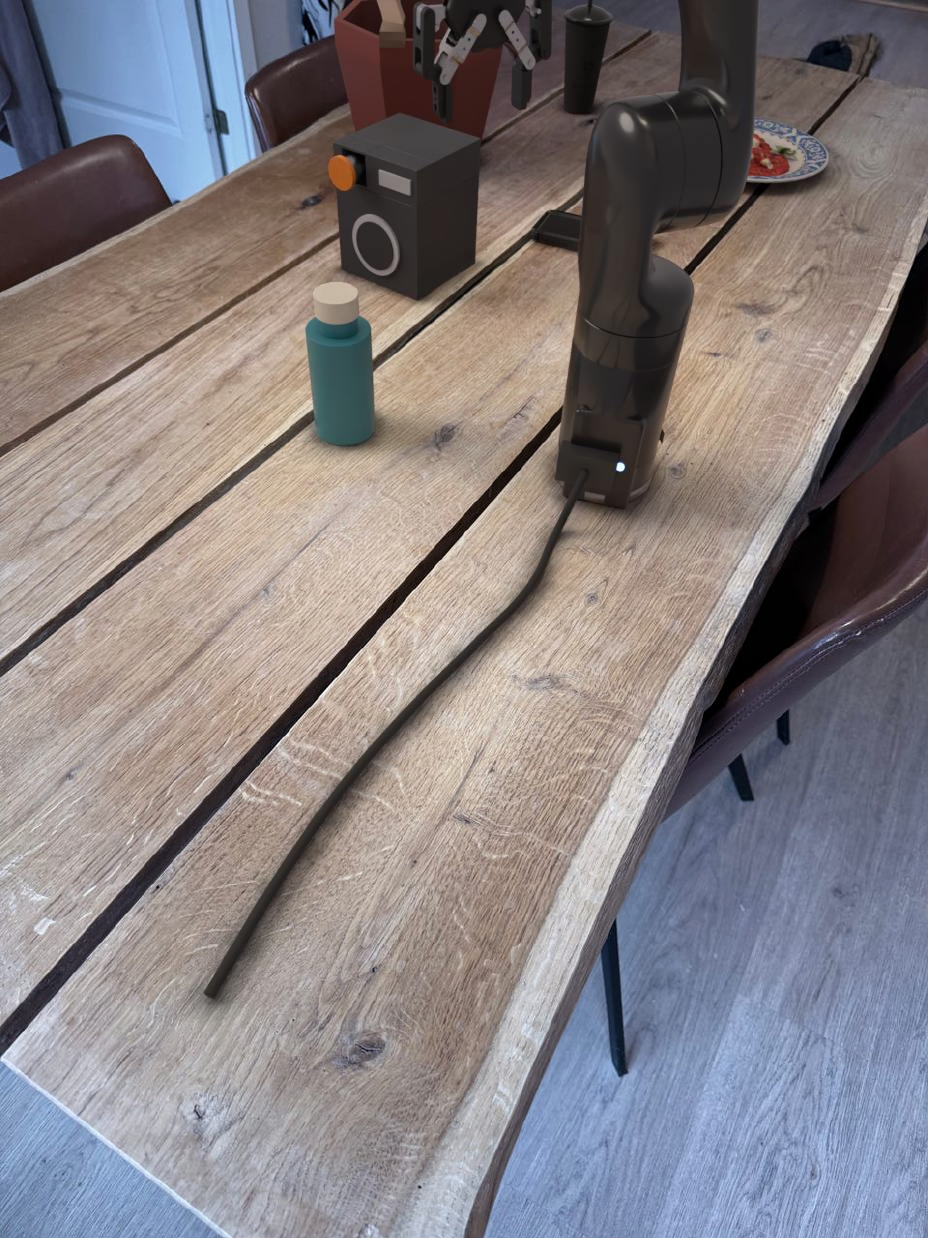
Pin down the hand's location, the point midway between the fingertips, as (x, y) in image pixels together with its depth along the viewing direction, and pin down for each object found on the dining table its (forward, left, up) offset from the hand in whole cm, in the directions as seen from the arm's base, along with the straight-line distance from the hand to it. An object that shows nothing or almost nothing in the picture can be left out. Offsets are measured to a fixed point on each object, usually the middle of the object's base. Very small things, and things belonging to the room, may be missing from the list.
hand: (482, 114), depth 94 cm
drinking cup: (+67, 0, -21) cm, 70 cm away
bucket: (+37, +19, -21) cm, 46 cm away
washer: (+5, +10, -21) cm, 23 cm away
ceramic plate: (+55, -28, -21) cm, 65 cm away
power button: (0, +15, -9) cm, 18 cm away
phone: (+20, -11, -21) cm, 30 cm away
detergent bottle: (-29, +5, -21) cm, 36 cm away
